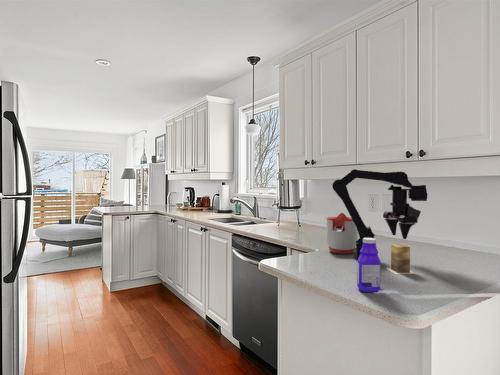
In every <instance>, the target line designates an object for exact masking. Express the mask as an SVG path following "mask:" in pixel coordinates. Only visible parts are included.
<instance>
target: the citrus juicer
mask: <svg viewBox="0 0 500 375" xmlns="http://www.w3.org/2000/svg"><path fill="white" fill-rule="evenodd" d="M325 219H326V240H327V241H326V242H327V245H328V250H329V252H331V253H333V254H343V255H349V254H353V253H354V249H355V248H356V241H357V240H358V236H359V233H358V230H357V227H356V225H355V223H354V222H353V220H352V218H351V216H350V217H347V215H346V214H345V213H344V212H340V213H339V214H338V215H337V216H329V217H326V218H325Z"/></svg>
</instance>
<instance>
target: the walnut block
mask: <svg viewBox="0 0 500 375" xmlns="http://www.w3.org/2000/svg"><path fill="white" fill-rule="evenodd" d="M390 268H391V269H392V270H393V271H395V272H397V273H410V271H411V259H410V260H397V259H395V258H393V257H391V256H390Z"/></svg>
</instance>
